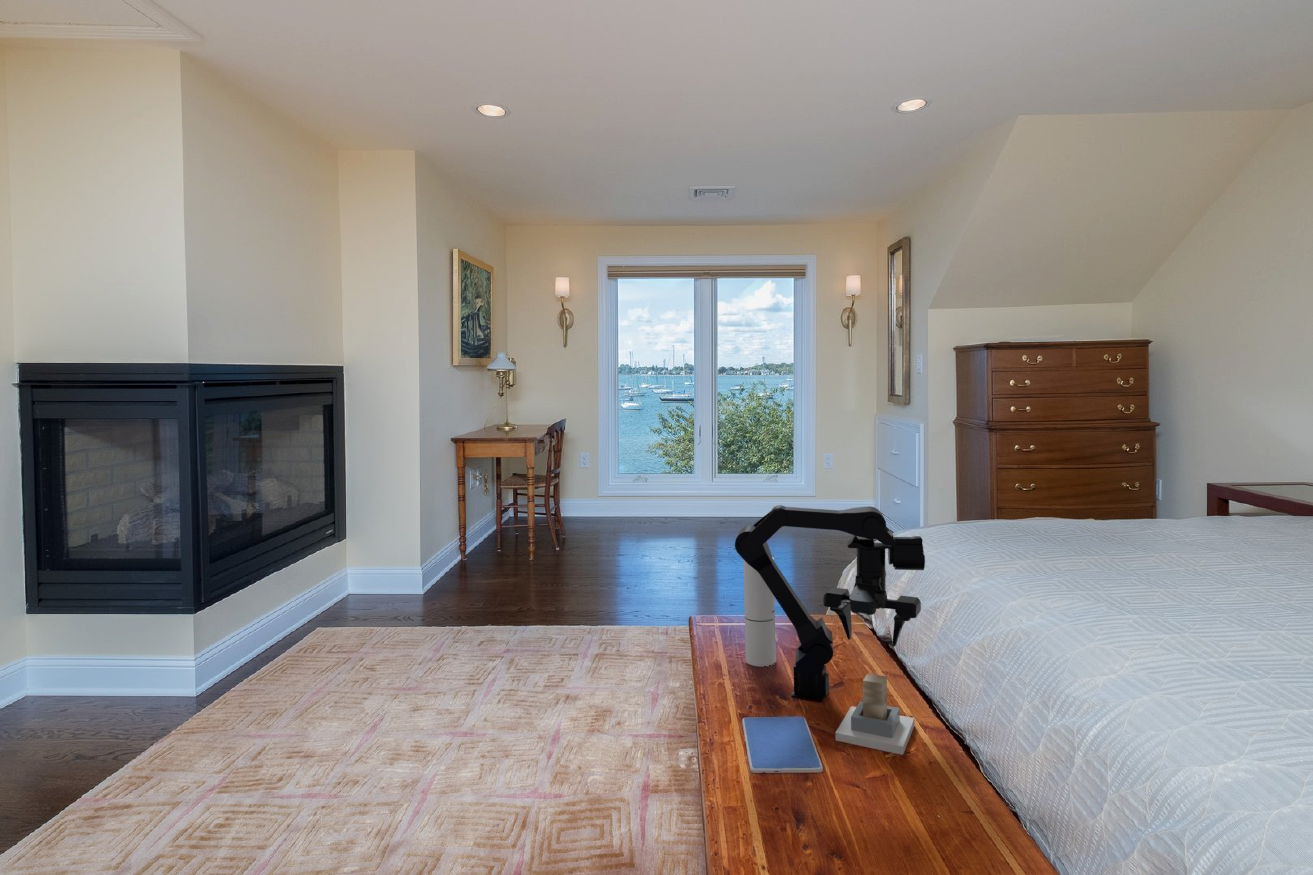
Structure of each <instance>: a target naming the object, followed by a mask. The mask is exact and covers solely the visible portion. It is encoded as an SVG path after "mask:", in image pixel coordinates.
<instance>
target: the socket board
mask: <svg viewBox="0 0 1313 875" xmlns="http://www.w3.org/2000/svg"><path fill="white" fill-rule="evenodd" d="M900 709H901V708H900V707H895V706H892V705H891V706H890V705H887V721H885V720H880V719H875V718H870V717H865V716H863V700H860V701H859V703H858V704H857V706H853V705H852V706H850V708H849V709H848V712H847V713H846V715H845V717H844V718H843V719H842V721H841V722H840V725H839V726H838V727H837V730H836V731H835V741H837V742H841V743H846V744H851V745H855V746H859V747H864V748H865V747H866V748H869V749H874V750H878V751H883V752H886V753H887V752H888V753H893V754H896V755H902V756H903V755H904V753H905V752H906V748H907V746H908V743H909V740H910V738H911V736H912V733H913V731H914V729H915V728H914V727H915V720H916V719H915V717H912V716H911V717H909V716H906V715H901V713H900V712H901V710H900Z"/></svg>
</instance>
